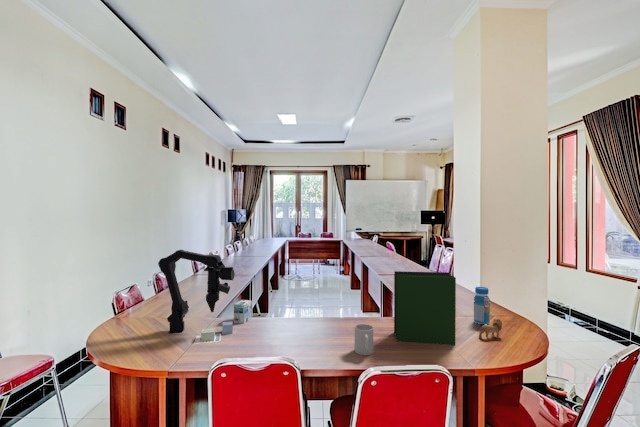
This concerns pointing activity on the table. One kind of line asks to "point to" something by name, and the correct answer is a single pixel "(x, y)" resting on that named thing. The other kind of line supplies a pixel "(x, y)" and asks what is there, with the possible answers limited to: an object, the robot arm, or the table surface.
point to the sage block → (208, 334)
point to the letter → (198, 341)
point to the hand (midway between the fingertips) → (212, 309)
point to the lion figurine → (491, 328)
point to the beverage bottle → (481, 306)
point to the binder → (424, 307)
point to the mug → (363, 339)
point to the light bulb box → (242, 311)
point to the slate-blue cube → (227, 327)
